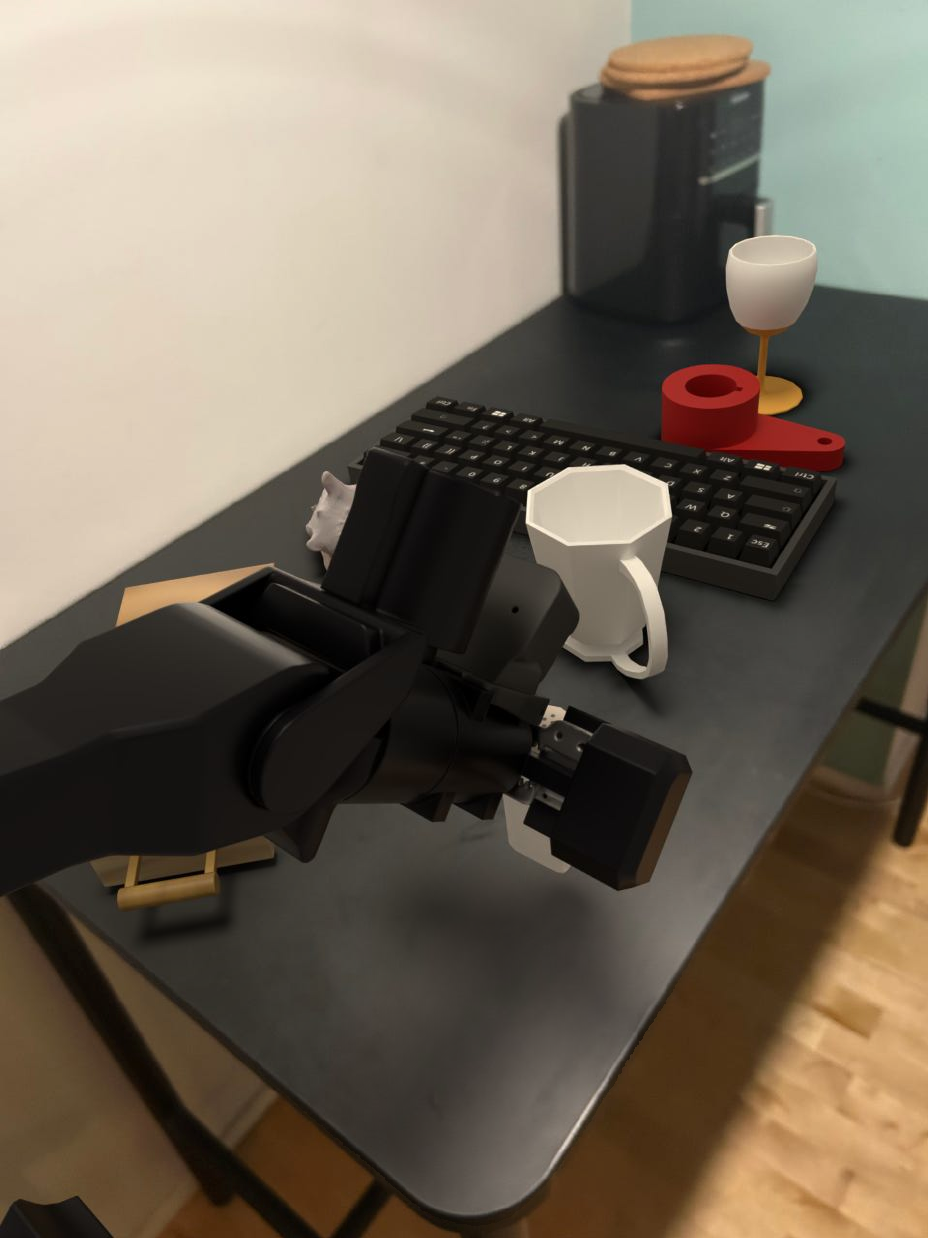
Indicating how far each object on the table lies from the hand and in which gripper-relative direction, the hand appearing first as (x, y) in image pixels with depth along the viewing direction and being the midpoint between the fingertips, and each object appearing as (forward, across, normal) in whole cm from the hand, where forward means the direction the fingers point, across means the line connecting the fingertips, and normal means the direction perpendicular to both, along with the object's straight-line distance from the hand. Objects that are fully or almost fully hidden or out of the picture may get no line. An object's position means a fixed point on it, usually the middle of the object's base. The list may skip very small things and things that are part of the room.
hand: (561, 748), depth 52 cm
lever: (+47, +13, -29) cm, 57 cm away
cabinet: (+9, +35, +9) cm, 37 cm away
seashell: (+24, +38, -5) cm, 46 cm away
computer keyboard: (+36, +24, -18) cm, 48 cm away
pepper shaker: (+4, 0, +6) cm, 7 cm away
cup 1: (+24, +9, -5) cm, 26 cm away
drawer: (+2, +25, +16) cm, 30 cm away
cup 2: (+55, +18, -37) cm, 68 cm away
